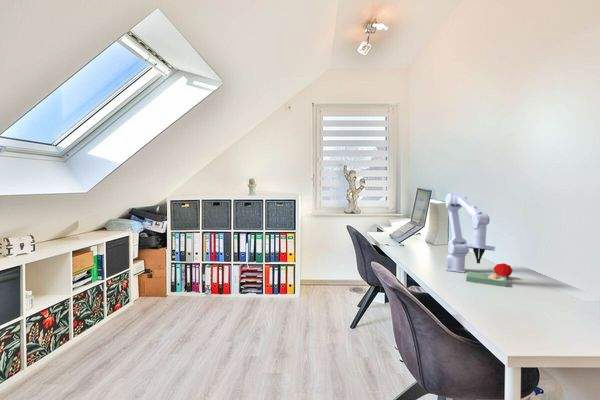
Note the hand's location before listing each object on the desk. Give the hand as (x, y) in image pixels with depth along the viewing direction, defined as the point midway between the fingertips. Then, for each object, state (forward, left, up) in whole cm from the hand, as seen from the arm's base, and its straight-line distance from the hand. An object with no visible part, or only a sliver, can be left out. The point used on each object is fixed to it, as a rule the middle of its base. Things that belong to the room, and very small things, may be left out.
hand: (478, 263), depth 188 cm
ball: (+8, 0, -7) cm, 10 cm away
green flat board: (+4, 0, -9) cm, 10 cm away
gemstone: (+12, +11, -9) cm, 19 cm away
